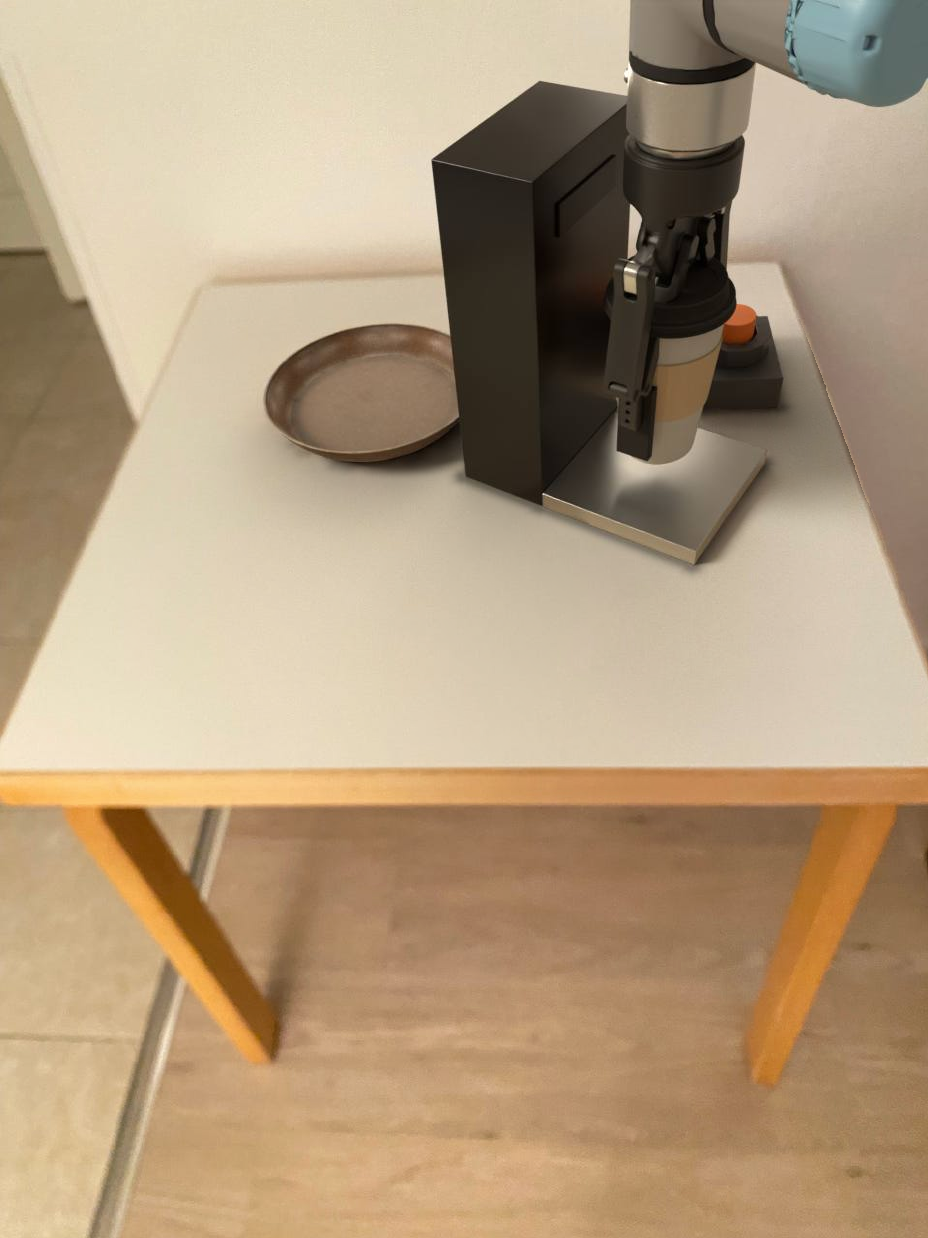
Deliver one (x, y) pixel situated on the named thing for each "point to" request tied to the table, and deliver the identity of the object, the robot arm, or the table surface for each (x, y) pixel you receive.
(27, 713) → the table surface
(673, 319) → the coffee cup
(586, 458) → the coffee maker
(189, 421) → the table surface
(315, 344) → the plant saucer
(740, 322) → the button
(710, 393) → the control block
